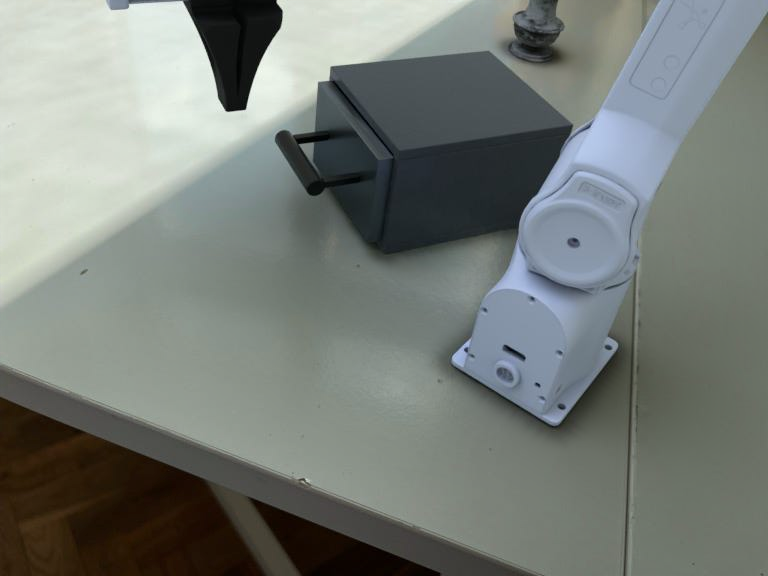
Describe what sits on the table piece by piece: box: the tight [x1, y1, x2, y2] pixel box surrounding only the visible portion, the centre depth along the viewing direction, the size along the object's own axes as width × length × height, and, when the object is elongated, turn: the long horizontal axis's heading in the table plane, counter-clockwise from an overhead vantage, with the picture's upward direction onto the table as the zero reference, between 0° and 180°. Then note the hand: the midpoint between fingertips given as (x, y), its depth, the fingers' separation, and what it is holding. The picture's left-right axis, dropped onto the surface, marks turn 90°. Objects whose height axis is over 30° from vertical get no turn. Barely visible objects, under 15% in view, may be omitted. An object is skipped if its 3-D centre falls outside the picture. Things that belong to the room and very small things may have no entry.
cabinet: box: [328, 50, 574, 255], centre depth 63 cm, size 15×13×9 cm
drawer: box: [274, 80, 394, 244], centre depth 61 cm, size 18×11×7 cm, turn 115°
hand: (232, 103), depth 52 cm, fingers closed
